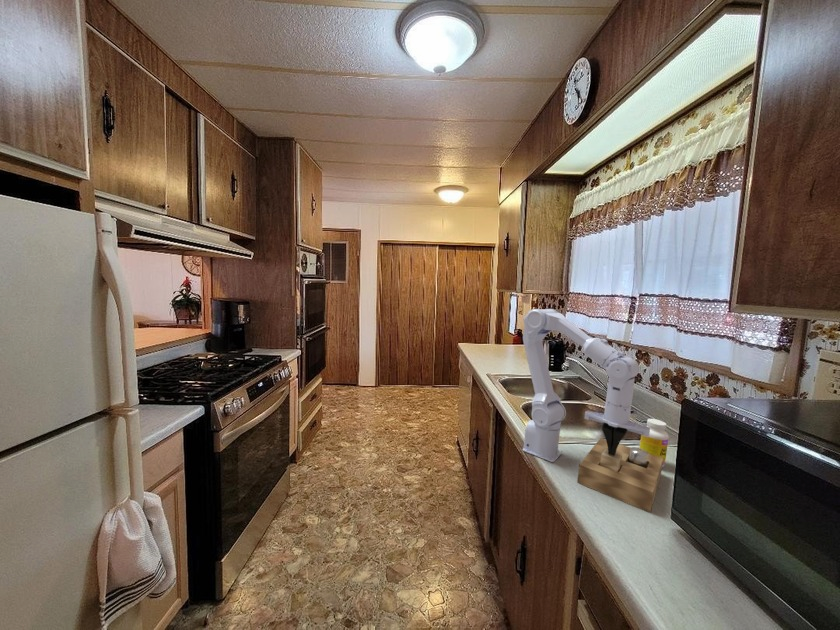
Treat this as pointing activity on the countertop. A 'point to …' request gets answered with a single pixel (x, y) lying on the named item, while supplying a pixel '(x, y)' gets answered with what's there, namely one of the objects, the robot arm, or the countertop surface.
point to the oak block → (622, 476)
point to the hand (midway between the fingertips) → (611, 453)
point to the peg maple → (611, 461)
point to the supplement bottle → (656, 439)
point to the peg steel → (638, 457)
